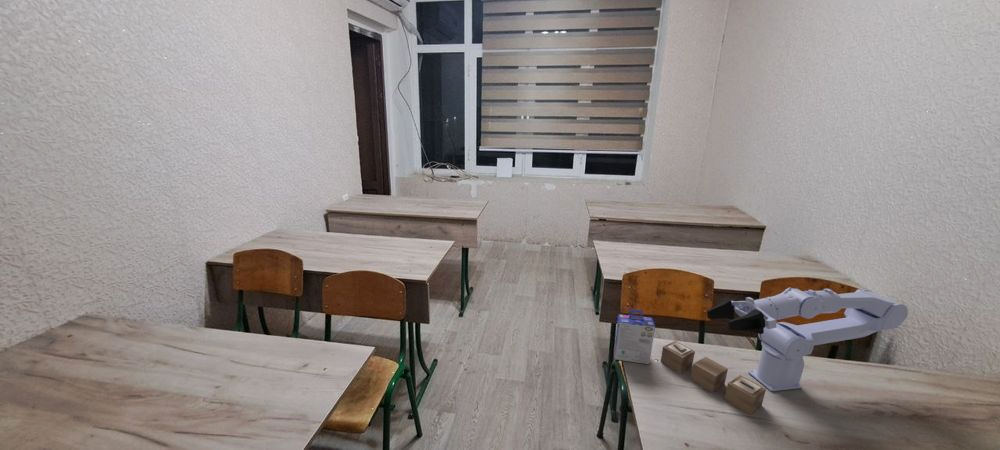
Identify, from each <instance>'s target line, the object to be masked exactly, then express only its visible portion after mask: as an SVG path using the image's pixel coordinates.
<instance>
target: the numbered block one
mask: <svg viewBox="0 0 1000 450" xmlns="http://www.w3.org/2000/svg"><path fill="white" fill-rule="evenodd" d="M766 390H767V388H765V386H764V387H763V386H761V385H760V384H758V383H756V382H754V381H753V380H751V379H749V378H747V377H744V376H743V375H741V374H739V375H738V376H736V377H735V378H734V379H732V380H731V381H729V382H727V385H726V390H725V395H724V399H723V400H724V401H726V402H727V403H729V404H731V405H733V407H734V406H735V407H736V408H737V409H739V410H741V411H742V412H744V413H746V414H747V415H749V416H751V415H752V414H753V413H754V412H756V411H757V410H758V409H759V408H760V407H762V406H763V402H764V398H765V395H766Z"/></svg>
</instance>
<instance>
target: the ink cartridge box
mask: <svg viewBox="0 0 1000 450" xmlns="http://www.w3.org/2000/svg"><path fill="white" fill-rule="evenodd" d="M634 313H637V314H640V315H637V314H636V315H635V314H634ZM616 322H617V323H616V330H615V331H616V333H615V342H614V348H613V355H614V356H613V357H614V360H617V361H618V360H619V361H624V362H632V363H639V364H646V365H650V363H651V357H652V351H653V350H652V349H653V342H654V338H655V330H656V325H655V322H654V319H653V318H652V317H647V316H644V311H643V310H640V309H639V310H638V309H633V308H630V310H629V314H621V313H620V314H617V321H616Z"/></svg>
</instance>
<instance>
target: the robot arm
mask: <svg viewBox="0 0 1000 450" xmlns="http://www.w3.org/2000/svg"><path fill="white" fill-rule="evenodd" d="M842 309H845V311H844V312H843V314H844V316H845V317H843V318H841V317H840V318H835V319H829V320H823V321H818V322H811V323H804V324H799V325H797V324H793V323H789V322H785V321H780V322H778V320H783V319H788V318H792V317H797V316H799V317H802V318H804V319H808V320H810V319H813V318H815V317H816V316H818V315H821V314H834V313H838V312H839V311H840V310H842ZM735 313H736V314H737V315H738V316H739V317H736V318H735ZM908 314H909V309H908V306H906V305H905V304H903V303H901V302H896V301H894V300H892V299H890V298H887V297H884V296H883V295H880V294H877V293H875V292H873V291H871V290H869V289H856V290H855V291H854V292H847V293H846V292H845V293H837V292H835V291H834V290H832V289H830V288H823V290H813V289H808V290H804V291H802V290H800V289H799V288H793V287H791V286H790V287H788V288H786V289H785V290H783V291H782V292H781V293H777V294H776V295H773V296H767V297H762V298H759V299H758V298H757V299H754V298H752V297H750V296H748V297H745V300H738V301H735V300H732V298H729V297H724V298H723V299H722V300H721V301H720V302H719V303H718V304H717V305H715V306H713V307H711V308H710V309H707V310H706V317H707V319H709V320H717V319H728V320H729V321H728V331H729V330H730V331H733V332H735V331H739V332H750V333H755V334H757V336H758V338H759V340H760V344H761V346H762V349H761V354H760V357H759V361H758V365H757V369H750V370H748V371H747V372H748V373H749V375H751V376H752V377H753V378H754V379H755V380H757V381H758V382H759V383H761V384H762V385H763V386H764V388H765V387H766V389H768V390H769V391H771V392H778V391H787V390H796V389H802V388H803V386H802V385H801V384H800V381H801V379H802V375H803V372H804V368H805V361H804V359H803V357H805V356H810V355H812V352H813V350H814V348H815V347H814V346H819V345H825V344H831V343H836V342H837V343H838V342H841V341H848V340H854V339H855V340H856V339H860V338H865V337H868V336H870V335H872V334H874V333H876V332H880V331H887V330H894V329H898V328H899V327H900V326H901V324H902V323H904V322H905V321H906V319H907V318H908V316H909V315H908Z"/></svg>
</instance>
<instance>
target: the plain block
mask: <svg viewBox="0 0 1000 450" xmlns="http://www.w3.org/2000/svg"><path fill="white" fill-rule="evenodd" d="M691 367H692V368H691V374H690V378H689V379H690V381H693V382H694V383H696V384H697V385H699V386H701V387H703V388H704V389H705V390H707V391H709V392H711V393H714V392H716V391H717V390H719V389H720V388H722V387H723V386H725V384H726V379H727V374H728V372H729V368H728V367H725V366H724V365H722V364H720V363H719V362H717V361H714V360H713V359H711V358H709V357H707V356H705V357H702V358H701V359H699V360H697V361H695V362H693V364H692V366H691Z"/></svg>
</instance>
